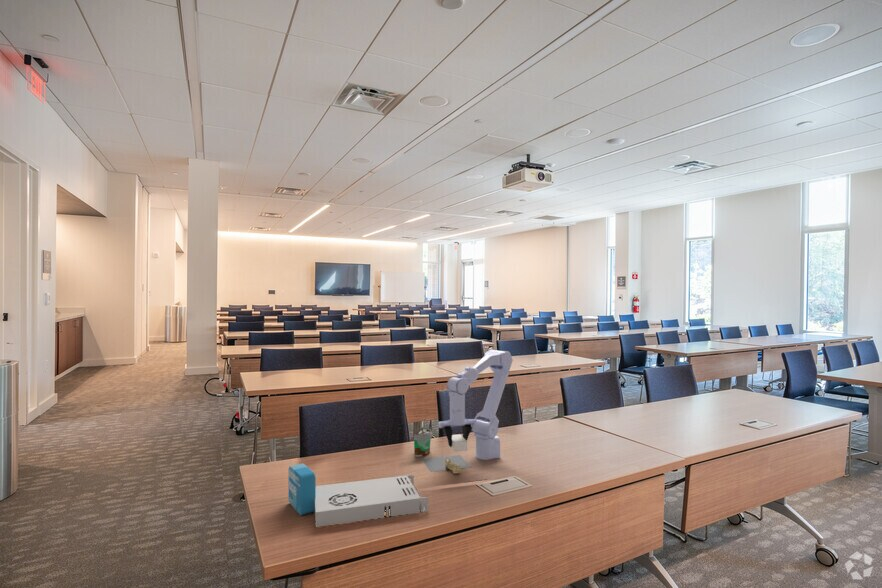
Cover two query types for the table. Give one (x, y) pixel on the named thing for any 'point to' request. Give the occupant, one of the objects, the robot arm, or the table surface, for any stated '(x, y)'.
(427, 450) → the food container
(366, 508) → the power supply unit
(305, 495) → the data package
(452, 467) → the brass T-key
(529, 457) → the table surface
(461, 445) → the white rectangular block
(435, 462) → the base plate
